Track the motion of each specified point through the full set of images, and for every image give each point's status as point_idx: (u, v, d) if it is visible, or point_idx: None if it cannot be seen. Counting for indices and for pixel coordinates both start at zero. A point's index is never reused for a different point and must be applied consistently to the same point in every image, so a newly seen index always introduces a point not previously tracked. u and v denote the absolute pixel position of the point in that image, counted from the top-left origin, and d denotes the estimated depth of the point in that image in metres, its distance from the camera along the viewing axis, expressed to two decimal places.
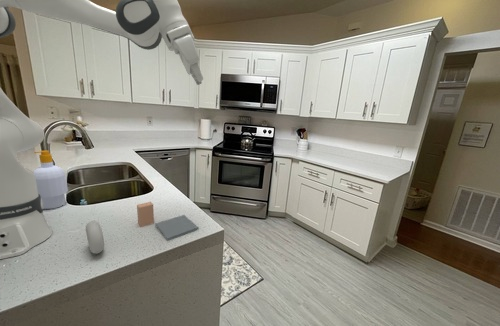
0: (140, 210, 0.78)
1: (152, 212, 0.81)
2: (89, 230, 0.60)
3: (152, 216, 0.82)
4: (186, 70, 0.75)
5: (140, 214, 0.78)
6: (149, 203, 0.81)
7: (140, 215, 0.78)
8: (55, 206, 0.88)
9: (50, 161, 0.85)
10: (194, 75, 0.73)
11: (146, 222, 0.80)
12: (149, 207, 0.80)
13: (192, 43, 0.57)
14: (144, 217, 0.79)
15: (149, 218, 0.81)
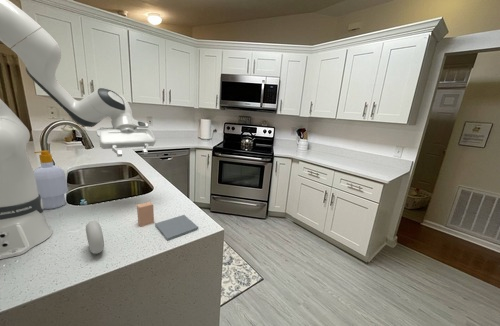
0: (140, 210, 0.78)
1: (152, 212, 0.81)
2: (89, 230, 0.60)
3: (152, 216, 0.82)
4: (105, 140, 0.79)
5: (140, 214, 0.78)
6: (149, 203, 0.81)
7: (140, 215, 0.78)
8: (55, 206, 0.88)
9: (50, 161, 0.85)
10: None
11: (146, 222, 0.80)
12: (149, 207, 0.80)
13: None
14: (144, 217, 0.79)
15: (149, 218, 0.81)
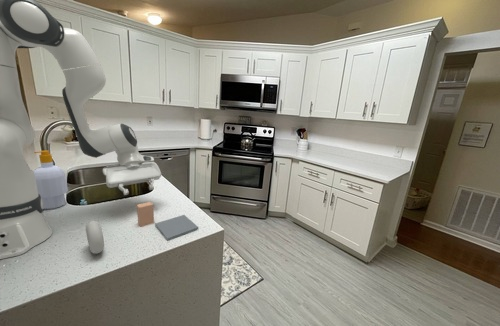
0: (140, 210, 0.78)
1: (152, 212, 0.81)
2: (89, 230, 0.60)
3: (152, 216, 0.82)
4: (112, 180, 0.79)
5: (140, 214, 0.78)
6: (149, 203, 0.81)
7: (140, 215, 0.78)
8: (55, 206, 0.88)
9: (50, 161, 0.85)
10: None
11: (146, 222, 0.80)
12: (149, 207, 0.80)
13: None
14: (144, 217, 0.79)
15: (149, 218, 0.81)
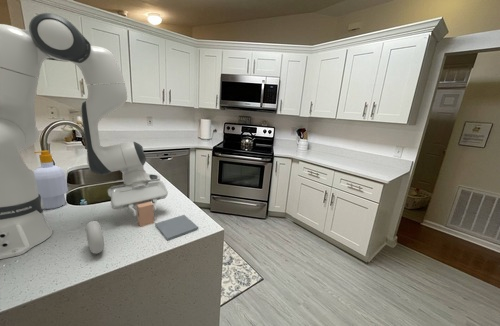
0: (140, 210, 0.78)
1: (152, 212, 0.81)
2: (89, 230, 0.60)
3: (152, 216, 0.82)
4: (117, 202, 0.76)
5: (140, 214, 0.78)
6: (149, 203, 0.81)
7: (140, 215, 0.78)
8: (55, 206, 0.88)
9: (50, 161, 0.85)
10: None
11: (146, 222, 0.80)
12: (149, 207, 0.80)
13: None
14: (144, 217, 0.79)
15: (149, 218, 0.81)
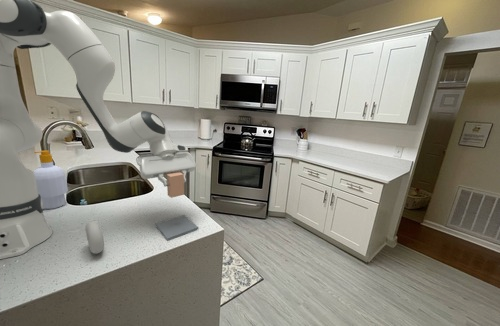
0: (171, 179, 0.73)
1: (182, 183, 0.77)
2: (89, 230, 0.60)
3: (182, 187, 0.77)
4: (147, 170, 0.71)
5: (171, 184, 0.74)
6: (179, 173, 0.77)
7: (171, 185, 0.74)
8: (55, 206, 0.88)
9: (50, 161, 0.85)
10: None
11: (176, 193, 0.76)
12: (180, 177, 0.75)
13: None
14: (175, 187, 0.75)
15: (180, 189, 0.76)
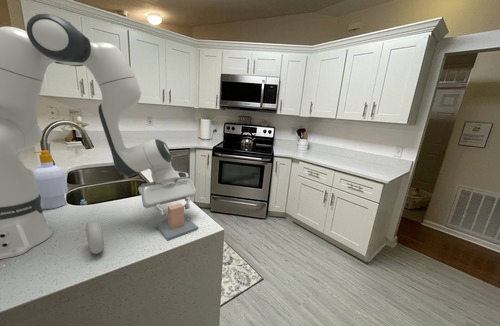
0: (172, 212, 0.76)
1: (183, 214, 0.79)
2: (89, 230, 0.60)
3: (183, 218, 0.80)
4: (149, 200, 0.74)
5: (171, 216, 0.76)
6: (180, 205, 0.79)
7: (172, 217, 0.77)
8: (55, 206, 0.88)
9: (50, 161, 0.85)
10: None
11: (177, 224, 0.79)
12: (180, 208, 0.78)
13: None
14: (175, 219, 0.78)
15: (180, 220, 0.79)
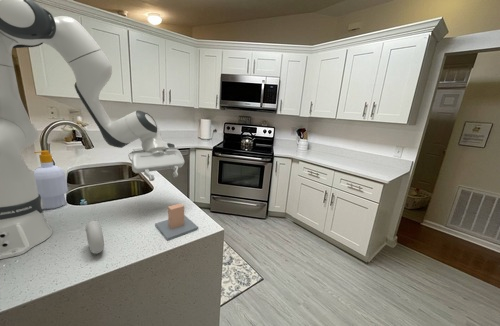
0: (172, 212, 0.76)
1: (183, 214, 0.79)
2: (89, 230, 0.60)
3: (183, 218, 0.80)
4: (138, 165, 0.79)
5: (171, 216, 0.76)
6: (180, 205, 0.79)
7: (172, 217, 0.77)
8: (55, 206, 0.88)
9: (50, 161, 0.85)
10: None
11: (177, 224, 0.79)
12: (180, 208, 0.78)
13: None
14: (175, 219, 0.78)
15: (180, 220, 0.79)
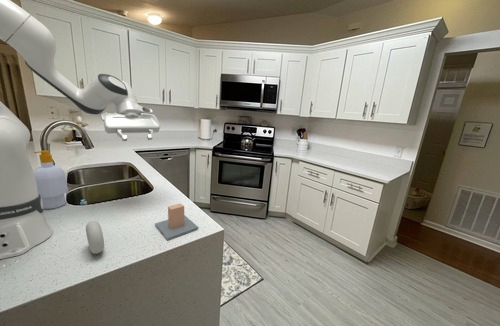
0: (172, 212, 0.76)
1: (183, 214, 0.79)
2: (89, 230, 0.60)
3: (183, 218, 0.80)
4: (110, 124, 0.79)
5: (171, 216, 0.76)
6: (180, 205, 0.79)
7: (172, 217, 0.77)
8: (55, 206, 0.88)
9: (50, 161, 0.85)
10: None
11: (177, 224, 0.79)
12: (180, 208, 0.78)
13: None
14: (175, 219, 0.78)
15: (180, 220, 0.79)
